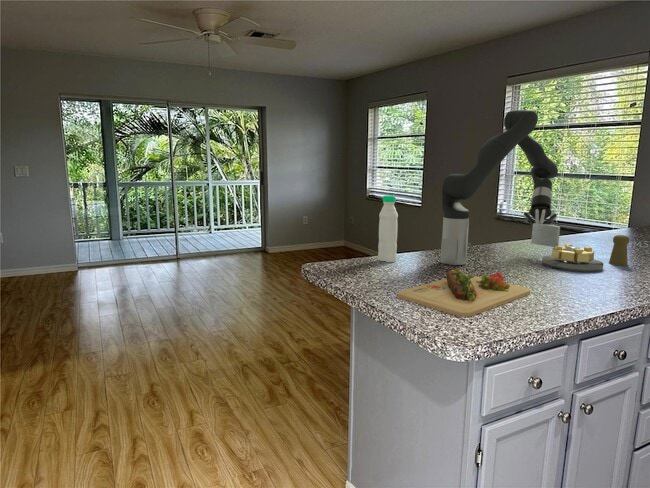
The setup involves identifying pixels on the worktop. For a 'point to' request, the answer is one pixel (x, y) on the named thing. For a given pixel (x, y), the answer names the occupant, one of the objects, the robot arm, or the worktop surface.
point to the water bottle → (388, 230)
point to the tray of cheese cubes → (572, 263)
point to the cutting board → (465, 293)
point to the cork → (619, 251)
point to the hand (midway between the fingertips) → (538, 232)
